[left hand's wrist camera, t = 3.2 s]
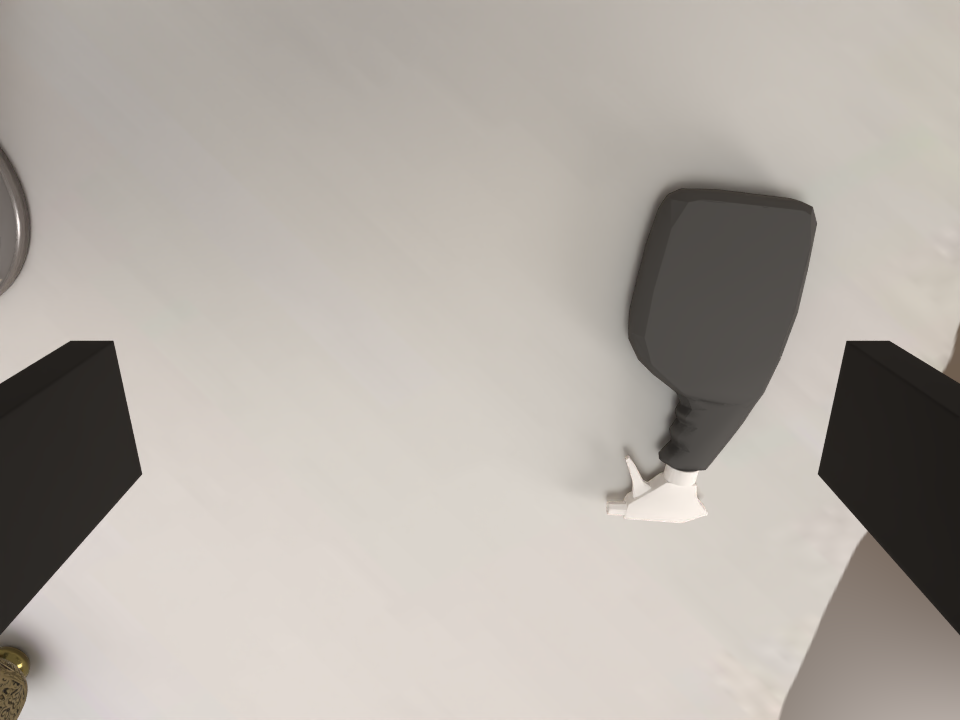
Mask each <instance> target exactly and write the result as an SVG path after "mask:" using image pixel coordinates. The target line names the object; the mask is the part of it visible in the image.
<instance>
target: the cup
mask: <svg viewBox="0 0 960 720" xmlns="http://www.w3.org/2000/svg"><path fill="white" fill-rule="evenodd" d="M29 669H30V661H29V659H28V657H27V656H26V654H25V653H23V652H22V651H21V650H19V649H17V648H14V647H10V646H3V647H0V720H17V718H18V717H19V715H20V713H21V711H22V708H23V706H24V704H25V701H26V697H27V681H26V677H27V675H28V673H29Z"/></svg>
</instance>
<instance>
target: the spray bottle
mask: <svg viewBox="0 0 960 720" xmlns="http://www.w3.org/2000/svg"><path fill="white" fill-rule="evenodd" d="M816 226H817V222H816V218H815V214H814V210H813V207H812V206H810V205H808V204H805V203H803V202H801V201H798V200H794V199H791V198H782V197H774V196H766V195H758V194H749V193H741V192H733V191H725V190H716V189H679V190H677V191H674V192H672V193H670V194H669V195H667V196H666V198H665V199H664V201H663V202H662V204H661V205H660V207H659V209H658V212H657V214H656V217H655V220H654V223H653V226H652V229H651V232H650V234H649V237H648V240H647V243H646V246H645V250H644V254H643V258H642V262H641V266H640V270H639V274H638V278H637V282H636V286H635V290H634V294H633V298H632V302H631V306H630V314H629V325H628V335H629V341H630V343H631V345H632V347H633V349H634V351H635V354H636V356H637V358H638V360H639V361H640V362H641V363H642V364H643V365H644V366H645V367H646V368H647V369H648V370H649V371H650V372H651V373H652V374H653V375H655V376H656V377H657V378H659V379H660V380H661V381H662V382H664V383H665V384H666V385H668V386H669V387H670V388H671V389H673V390H674V391H675V392H677V394H678V397H679V400H680V402H679V404H678V406H677V407H676V409H675V412H676V416H677V418H676V420H675V421H674V423H673V424H672V426H671V427H670V428H669V430H670V436H671V441H670V442H669V443H668V444H667V445H665V446H664V447H663V448H662V449H661V450H660V451H659V459H660V460H661V461H663V462H664V463H666V466H665V470H664V472H661V473H660V474H658V475H657V476H655V477H654V478H652V479H651V480H650V481H648V482H647V481H645V480H643V479H642V477H641V475H640V473H639V471H638V469H637V467H636V465H635V464H634V463H633V461H632V460H631V458H630V457H629V455H628V456H626V457H625V459H626V462H627V465H628V469H629V472H630V475H631V478H632V491H631V492H629V493H628V494H627V495H626V496H625V498H624V501H607V505H606V511H607V514H609V515H621V516H623V517H624V519H635V520H648V521H662V522H675V523H684V522H687V521H690V520H693V519H696V518H699V517H702V516H705V515H707V511H706V509H705V507H704V505H703V503H702V502H701V501H700V500H699V499H698V498H697V485H696V483H695V481H696V478H697V474H698V471H699V470H706V469H707V468H708V466H709V465H710V464H711V463H712V462H713V460H714V459H715V458H716V457H717V455H718V454H719V453H720V452H721V450H722V449H723V448H724V447H725V445H726V444H727V443H728V442H729V440H730V439H731V438H732V437H733V435H734V434H735V433H736V431H737V430H738V429H739V428H740V426H741V425H742V424H743V422H744V421H745V419H746V418H747V416H748V415H749V413H750V412H751V410H752V409H753V407H754V406H755V404H756V403H757V402H758V400H759V399H760V398H761V396H762V395H763V393H764V392H765V390H766V388H767V385H768V383H769V381H770V379H771V377H772V375H773V373H774V371H775V369H776V367H777V365H778V363H779V361H780V359H781V356H782V353H783V351H784V348H785V345H786V343H787V340H788V337H789V335H790V332H791V329H792V327H793V324H794V321H795V319H796V316H797V313H798V309H799V305H800V301H801V296H802V292H803V288H804V284H805V279H806V275H807V271H808V266H809V261H810V256H811V251H812V246H813V241H814V236H815V231H816Z"/></svg>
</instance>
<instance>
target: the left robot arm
mask: <svg viewBox="0 0 960 720" xmlns="http://www.w3.org/2000/svg"><path fill="white" fill-rule="evenodd" d="M29 233H30V229H29V215H28V209H27V204H26V200H25V196H24V193H23V190H22V187H21V184H20V182H19V180H18V177H17V175H16V173H15V171H14V169H13V167H12V165H11V163H10V162H9V160H8V158H7V157H6V155H5V154H4V152H3V151H2V149H1V148H0V295H1V294H3V293H4V292H5V291H6V290H7V289H8V288H9V287H10V285H11V284H12V283H13V282H14V280H15V279H16V277H17V276H18V274H19V272H20V270H21V268H22V266H23V264H24V261H25V258H26V254H27V250H28V244H29ZM141 475H142V471H141V466H140V462H139V457H138V453H137V448H136V443H135V439H134V434H133V429H132V425H131V420H130V415H129V411H128V406H127V401H126V397H125V392H124V388H123V383H122V378H121V374H120V369H119V364H118V360H117V355H116V350H115V346H114V341H70V342H68V343H66V344H65V345H63V346H61V347H60V348H58V349H56V350H55V351H53V352H52V353H50V354H48V355H47V356H45V357H43V358H42V359H40V360H38V361H37V362H35V363H33V364H32V365H30V366H29V367H27V368H25V369H24V370H22V371H20V372H19V373H17V374H15V375H14V376H12V377H10V378H9V379H7V380H6V381H4V382H2V383H1V384H0V635H1V633H2V632H3V631H4V630H5V629H6V628H7V627H8V626H9V624H10V623H11V622H12V621H13V620H14V619H15V618H16V616H17V615H18V614H19V613H20V612H21V611H22V610H23V609H24V607H25V606H26V605H27V604H28V603H29V602H30V601H31V599H32V598H33V597H34V596H35V595H36V594H37V593H38V592H39V590H40V589H41V588H42V587H43V586H44V585H45V584H46V583H47V581H48V580H49V579H50V578H51V577H52V576H53V575H54V573H55V572H56V571H57V570H58V569H59V568H60V567H61V566H62V564H63V563H64V562H65V561H66V560H67V559H68V558H69V556H70V555H71V554H72V553H73V552H74V551H75V550H76V549H77V547H78V546H79V545H80V544H81V543H82V542H83V541H84V539H85V538H86V537H87V536H88V535H89V534H90V533H91V532H92V530H93V529H94V528H95V527H96V526H97V525H98V524H99V522H100V521H101V520H102V519H103V518H104V517H105V516H106V515H107V513H108V512H109V511H110V510H111V509H112V508H113V507H114V505H115V504H116V503H117V502H118V501H119V500H120V499H121V498H122V496H123V495H124V494H125V493H126V492H127V491H128V490H129V488H130V487H131V486H132V485H133V484H134V483H135V482H136V481H137V479H138V478H139V477H140V476H141ZM818 475H819V476H820V477H821V478H822V479H823V481H824V482H825V483H826V484H827V485H828V486H829V487H830V488H831V490H832V491H833V492H834V493H835V494H836V495H837V496H838V498H839V499H840V500H841V501H842V502H843V503H844V504H845V505H846V507H847V508H848V509H849V510H850V511H851V512H852V513H853V515H854V516H855V517H856V518H857V519H858V520H859V521H860V522H861V524H862V525H863V526H864V527H865V528H866V529H867V530H868V532H869V533H870V534H871V535H872V536H873V537H874V538H875V539H876V541H877V542H878V543H879V544H880V545H881V546H882V547H883V549H884V550H885V551H886V552H887V553H888V554H889V555H890V556H891V558H892V559H893V560H894V561H895V562H896V563H897V564H898V566H899V567H900V568H901V569H902V570H903V571H904V572H905V573H906V575H907V576H908V577H909V578H910V579H911V580H912V581H913V583H914V584H915V585H916V586H917V587H918V588H919V589H920V590H921V592H922V593H923V594H924V595H925V596H926V597H927V598H928V599H929V601H930V602H931V603H932V604H933V605H934V606H935V607H936V608H937V610H938V611H939V612H940V613H941V614H942V615H943V616H944V618H945V619H946V620H947V621H948V622H949V623H950V624H951V626H952V627H953V628H954V629H955V630H956V631H957V632H958V633H959V635H960V384H959V383H958V382H956V381H954V380H953V379H951V378H949V377H948V376H946V375H945V374H943V373H941V372H940V371H938V370H936V369H935V368H933V367H931V366H930V365H928V364H927V363H925V362H923V361H922V360H920V359H918V358H917V357H915V356H913V355H912V354H910V353H908V352H907V351H905V350H904V349H902V348H900V347H899V346H897V345H895V344H894V343H892V342H890V341H846V346H845V350H844V355H843V360H842V364H841V369H840V374H839V378H838V383H837V388H836V392H835V397H834V401H833V406H832V411H831V415H830V420H829V425H828V429H827V434H826V439H825V443H824V448H823V453H822V457H821V462H820V466H819V471H818Z"/></svg>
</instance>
